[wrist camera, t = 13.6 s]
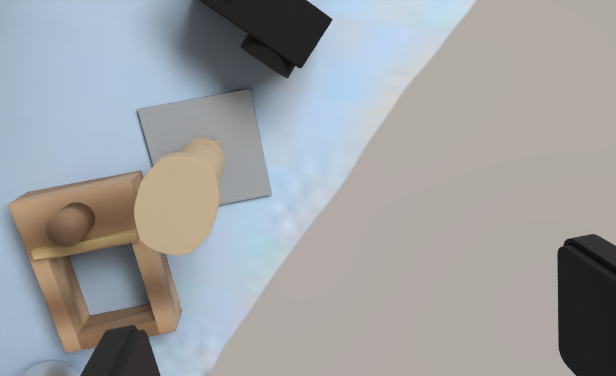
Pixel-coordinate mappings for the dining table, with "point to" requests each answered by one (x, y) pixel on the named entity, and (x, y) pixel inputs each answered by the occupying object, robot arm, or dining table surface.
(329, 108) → the dining table surface
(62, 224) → the body
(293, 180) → the dining table surface
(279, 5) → the digital camera
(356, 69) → the dining table surface
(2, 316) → the dining table surface
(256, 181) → the mat
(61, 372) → the plastic bottle
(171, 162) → the handle
